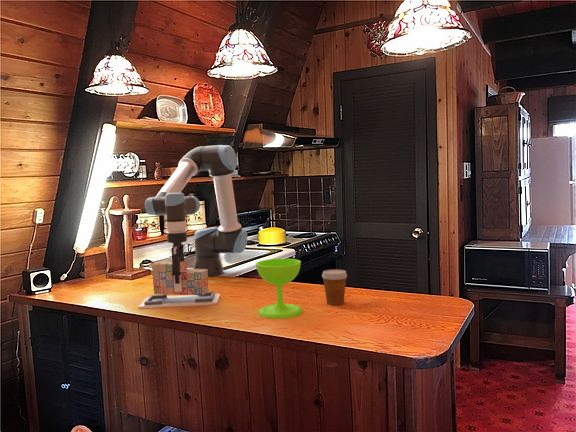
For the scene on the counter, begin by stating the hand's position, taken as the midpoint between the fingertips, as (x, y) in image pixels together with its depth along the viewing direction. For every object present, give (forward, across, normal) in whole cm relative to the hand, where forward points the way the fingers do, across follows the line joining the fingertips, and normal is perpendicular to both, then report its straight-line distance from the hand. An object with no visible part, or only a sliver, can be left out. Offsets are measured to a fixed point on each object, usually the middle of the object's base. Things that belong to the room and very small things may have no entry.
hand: (180, 288), depth 198 cm
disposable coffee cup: (+5, +14, +60) cm, 62 cm away
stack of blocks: (+2, 0, 0) cm, 2 cm away
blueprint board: (+5, 0, 0) cm, 5 cm away
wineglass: (+5, +22, +39) cm, 45 cm away
